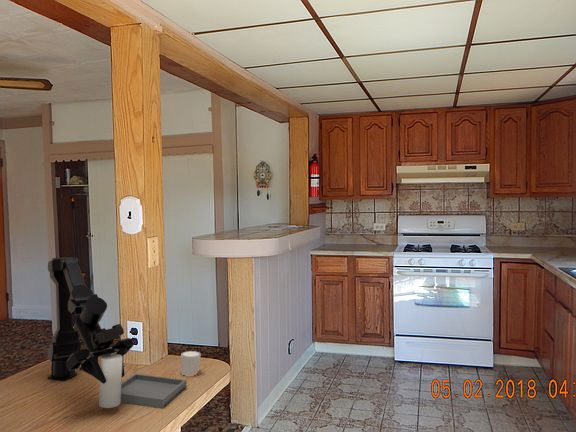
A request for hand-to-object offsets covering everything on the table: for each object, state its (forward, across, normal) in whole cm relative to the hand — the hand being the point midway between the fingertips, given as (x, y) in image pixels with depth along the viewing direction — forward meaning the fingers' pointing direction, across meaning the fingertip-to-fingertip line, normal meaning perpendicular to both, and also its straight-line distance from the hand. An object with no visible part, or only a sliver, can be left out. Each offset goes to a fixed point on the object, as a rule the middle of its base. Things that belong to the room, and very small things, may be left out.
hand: (114, 379), depth 128 cm
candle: (+4, 0, +6) cm, 7 cm away
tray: (+5, +14, +8) cm, 17 cm away
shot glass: (+4, +35, +10) cm, 37 cm away
